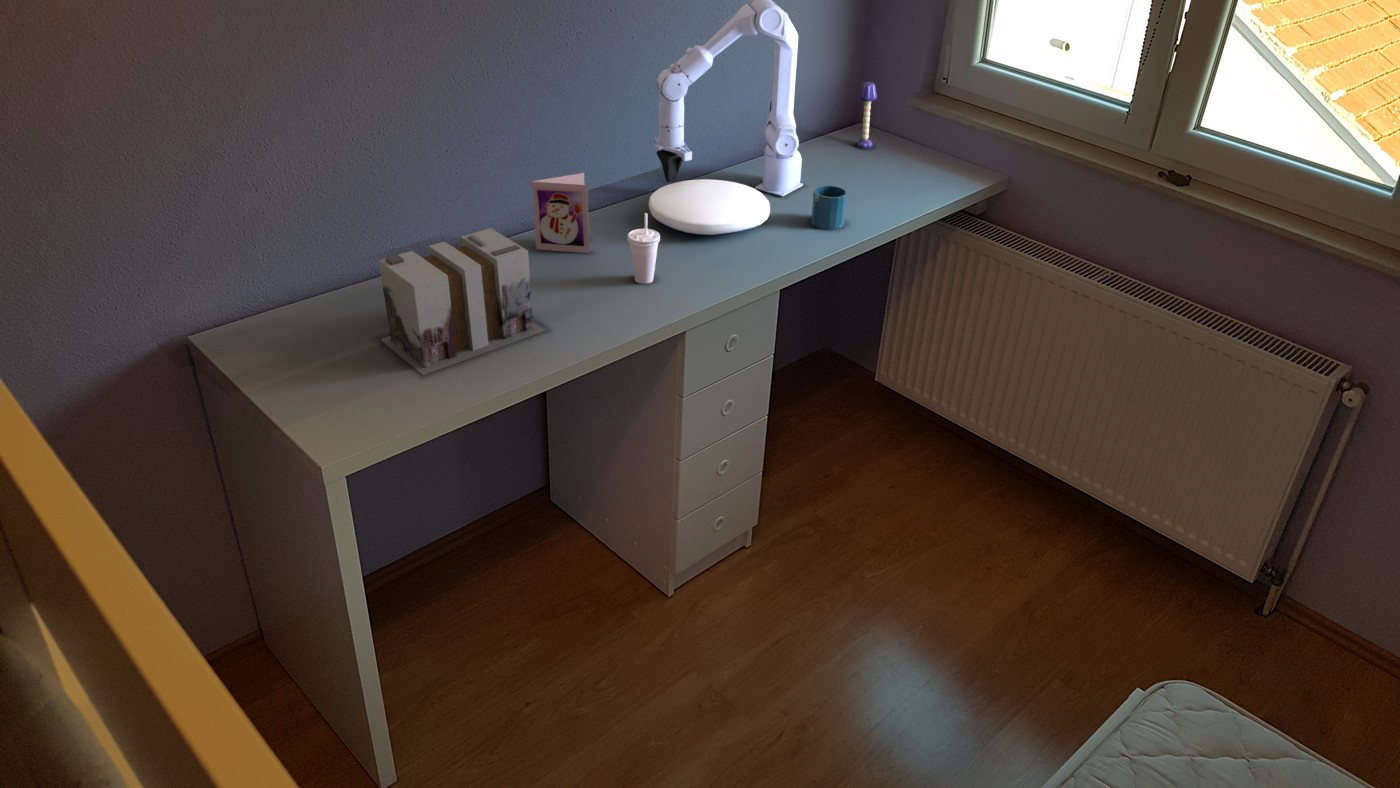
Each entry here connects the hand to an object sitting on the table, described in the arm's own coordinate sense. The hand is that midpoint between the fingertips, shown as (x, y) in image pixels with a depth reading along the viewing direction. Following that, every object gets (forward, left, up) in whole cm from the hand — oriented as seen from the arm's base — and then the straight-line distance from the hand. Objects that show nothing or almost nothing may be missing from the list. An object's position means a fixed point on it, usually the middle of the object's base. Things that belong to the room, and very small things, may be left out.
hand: (671, 180), depth 250 cm
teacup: (-9, +37, -3) cm, 39 cm away
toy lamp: (-59, +18, -4) cm, 62 cm away
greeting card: (+37, 0, -4) cm, 37 cm away
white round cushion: (+6, +15, -4) cm, 17 cm away
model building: (+77, +12, -4) cm, 78 cm away
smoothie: (+39, +23, -4) cm, 45 cm away
